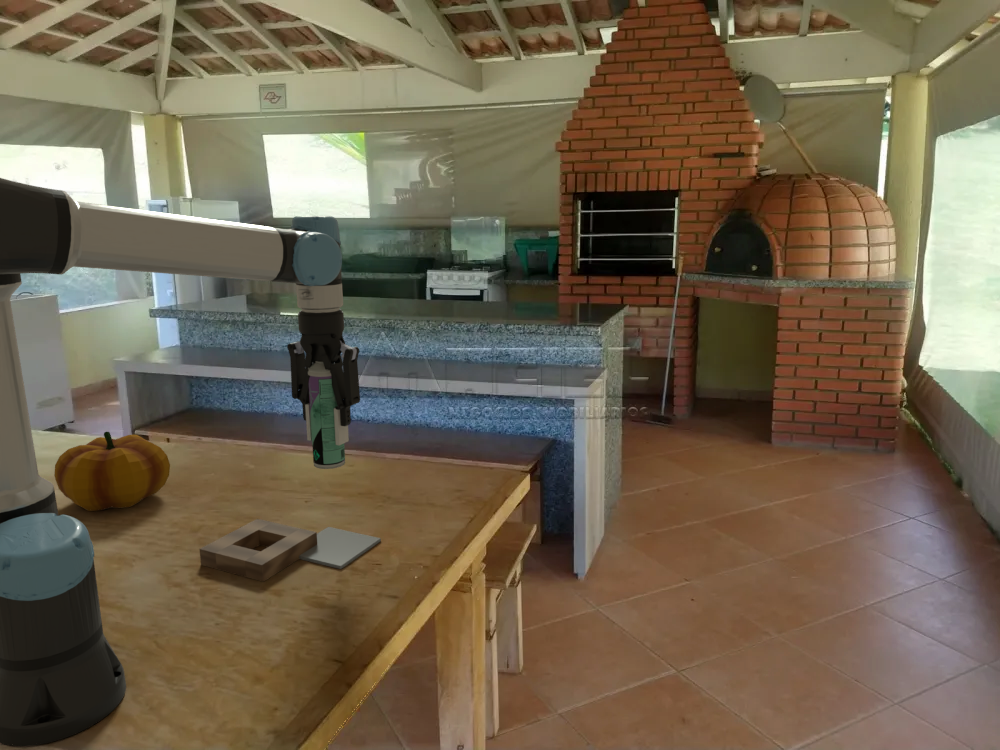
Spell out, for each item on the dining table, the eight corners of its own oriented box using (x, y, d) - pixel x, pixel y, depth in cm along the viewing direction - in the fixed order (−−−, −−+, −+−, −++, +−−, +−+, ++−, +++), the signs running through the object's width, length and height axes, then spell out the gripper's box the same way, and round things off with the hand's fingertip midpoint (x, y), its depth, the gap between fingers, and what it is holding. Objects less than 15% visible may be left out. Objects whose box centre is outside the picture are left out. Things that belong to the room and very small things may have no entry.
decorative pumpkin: (34, 516, 151) (23, 445, 147) (114, 478, 171) (106, 415, 168) (120, 526, 146) (111, 453, 142) (191, 485, 167) (185, 421, 163)
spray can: (341, 456, 136) (335, 348, 132) (348, 466, 131) (342, 354, 127) (310, 461, 134) (303, 351, 129) (317, 471, 129) (310, 357, 124)
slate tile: (340, 569, 128) (340, 565, 128) (286, 555, 133) (285, 552, 133) (380, 541, 139) (380, 538, 139) (328, 529, 144) (328, 526, 144)
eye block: (263, 581, 124) (261, 565, 123) (201, 564, 130) (199, 548, 129) (317, 547, 136) (316, 532, 136) (258, 533, 142) (257, 518, 142)
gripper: (262, 308, 127) (272, 439, 132) (352, 315, 119) (358, 454, 124) (292, 303, 133) (300, 428, 139) (378, 309, 126) (384, 441, 131)
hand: (328, 440), depth 131 cm, fingers closed on spray can, 5 cm apart
